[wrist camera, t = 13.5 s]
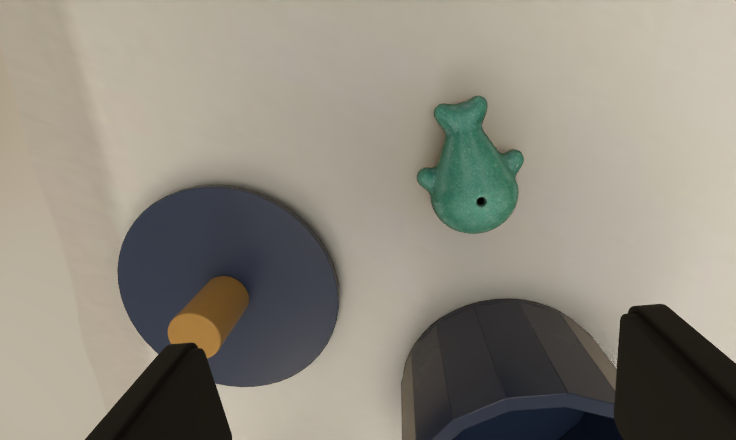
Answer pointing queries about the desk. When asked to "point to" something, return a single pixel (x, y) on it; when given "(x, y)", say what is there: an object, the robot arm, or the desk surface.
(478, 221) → the whale figurine
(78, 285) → the desk surface
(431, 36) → the desk surface
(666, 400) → the robot arm
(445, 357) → the tin
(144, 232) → the tin lid
